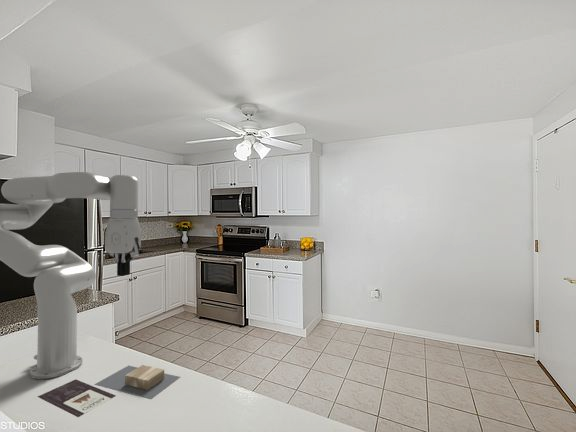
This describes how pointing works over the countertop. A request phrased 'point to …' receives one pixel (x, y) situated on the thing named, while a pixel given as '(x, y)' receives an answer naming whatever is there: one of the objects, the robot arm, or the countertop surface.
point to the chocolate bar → (76, 397)
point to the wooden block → (144, 377)
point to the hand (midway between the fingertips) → (123, 275)
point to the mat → (118, 383)
